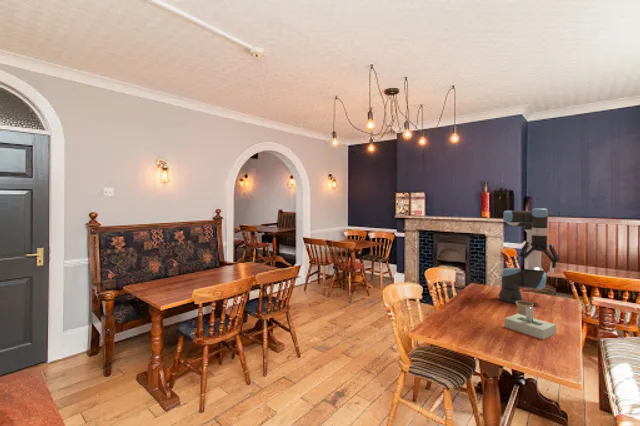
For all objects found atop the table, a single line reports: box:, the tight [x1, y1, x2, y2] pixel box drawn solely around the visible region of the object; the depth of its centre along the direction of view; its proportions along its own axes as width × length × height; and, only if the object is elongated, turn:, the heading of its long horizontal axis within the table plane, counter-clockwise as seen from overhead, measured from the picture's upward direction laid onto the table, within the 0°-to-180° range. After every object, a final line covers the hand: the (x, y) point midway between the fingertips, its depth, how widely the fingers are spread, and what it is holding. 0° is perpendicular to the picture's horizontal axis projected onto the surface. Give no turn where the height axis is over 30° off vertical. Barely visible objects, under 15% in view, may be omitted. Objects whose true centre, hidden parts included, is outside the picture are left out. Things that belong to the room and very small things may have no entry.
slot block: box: [504, 313, 557, 340], centre depth 178 cm, size 14×20×5 cm
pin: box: [526, 306, 535, 324], centre depth 178 cm, size 4×4×12 cm
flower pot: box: [515, 300, 535, 316], centre depth 198 cm, size 9×9×9 cm
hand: (538, 271), depth 186 cm, fingers open, 13 cm apart
